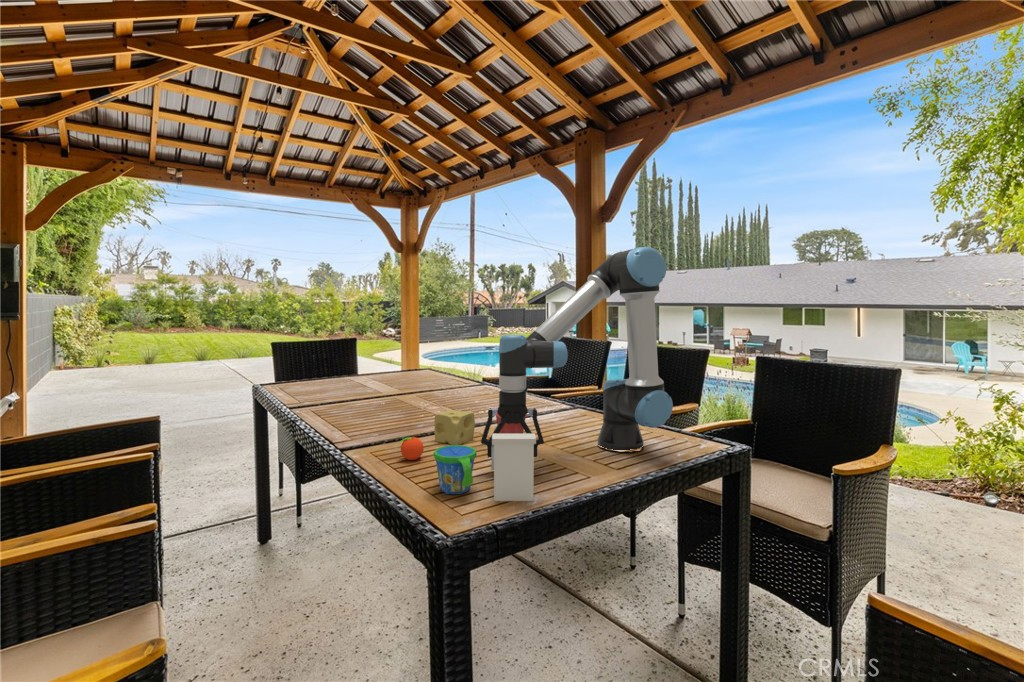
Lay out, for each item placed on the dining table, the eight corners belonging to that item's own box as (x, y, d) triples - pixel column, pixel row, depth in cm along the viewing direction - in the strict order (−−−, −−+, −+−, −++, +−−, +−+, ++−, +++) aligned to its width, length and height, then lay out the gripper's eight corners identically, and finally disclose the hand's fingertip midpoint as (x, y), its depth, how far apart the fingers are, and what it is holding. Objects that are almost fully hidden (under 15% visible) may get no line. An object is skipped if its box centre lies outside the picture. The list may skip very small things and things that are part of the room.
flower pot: (492, 444, 161) (492, 416, 160) (499, 435, 172) (499, 409, 171) (523, 445, 159) (523, 417, 159) (527, 437, 170) (527, 410, 170)
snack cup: (485, 497, 114) (485, 456, 113) (443, 504, 109) (443, 462, 109) (464, 477, 128) (464, 440, 127) (427, 483, 124) (426, 445, 123)
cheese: (456, 446, 158) (456, 417, 157) (432, 441, 164) (432, 413, 163) (475, 439, 167) (475, 412, 166) (452, 435, 173) (452, 408, 172)
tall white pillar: (532, 483, 124) (532, 426, 123) (535, 501, 111) (535, 438, 110) (493, 483, 124) (493, 426, 123) (491, 501, 111) (492, 438, 110)
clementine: (398, 464, 138) (398, 441, 138) (395, 458, 145) (395, 435, 144) (425, 461, 141) (425, 438, 141) (421, 455, 148) (421, 433, 147)
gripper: (552, 388, 134) (551, 464, 135) (472, 387, 134) (472, 464, 135) (554, 392, 127) (554, 472, 128) (470, 392, 126) (470, 472, 128)
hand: (512, 468), depth 132 cm, fingers open, 10 cm apart
